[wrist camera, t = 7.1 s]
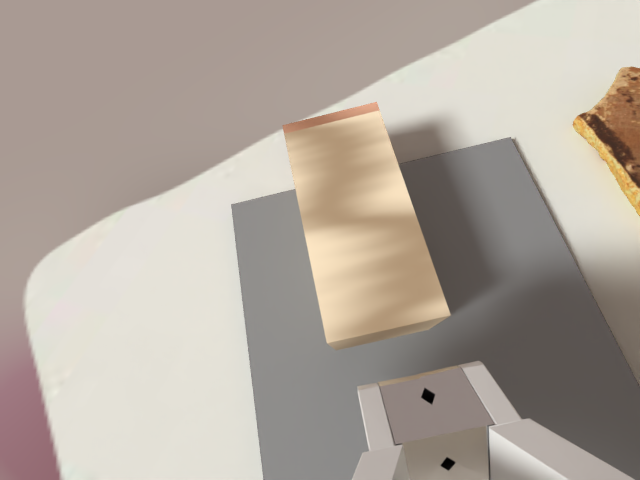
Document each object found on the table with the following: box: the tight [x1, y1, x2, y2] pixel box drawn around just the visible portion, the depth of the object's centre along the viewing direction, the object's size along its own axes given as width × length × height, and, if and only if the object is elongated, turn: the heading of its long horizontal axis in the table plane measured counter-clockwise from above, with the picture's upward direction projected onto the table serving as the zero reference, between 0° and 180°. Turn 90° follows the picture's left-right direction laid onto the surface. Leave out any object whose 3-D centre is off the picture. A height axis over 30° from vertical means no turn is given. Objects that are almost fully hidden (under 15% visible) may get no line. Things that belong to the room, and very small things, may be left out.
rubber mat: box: [231, 137, 640, 480], centre depth 16 cm, size 16×20×1 cm
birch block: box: [283, 102, 451, 350], centre depth 16 cm, size 4×4×10 cm
